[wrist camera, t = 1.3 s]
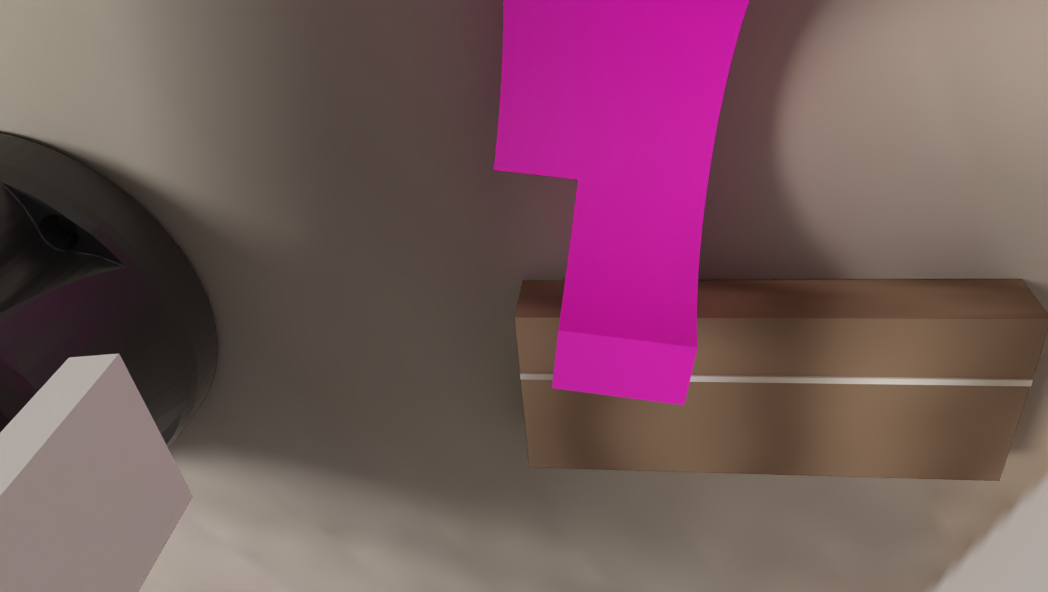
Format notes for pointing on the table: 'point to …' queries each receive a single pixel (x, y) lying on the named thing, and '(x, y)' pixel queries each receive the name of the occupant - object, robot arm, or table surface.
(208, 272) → the table surface
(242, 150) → the table surface
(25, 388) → the robot arm
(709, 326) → the brown flat bar
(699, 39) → the toy block
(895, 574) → the table surface
